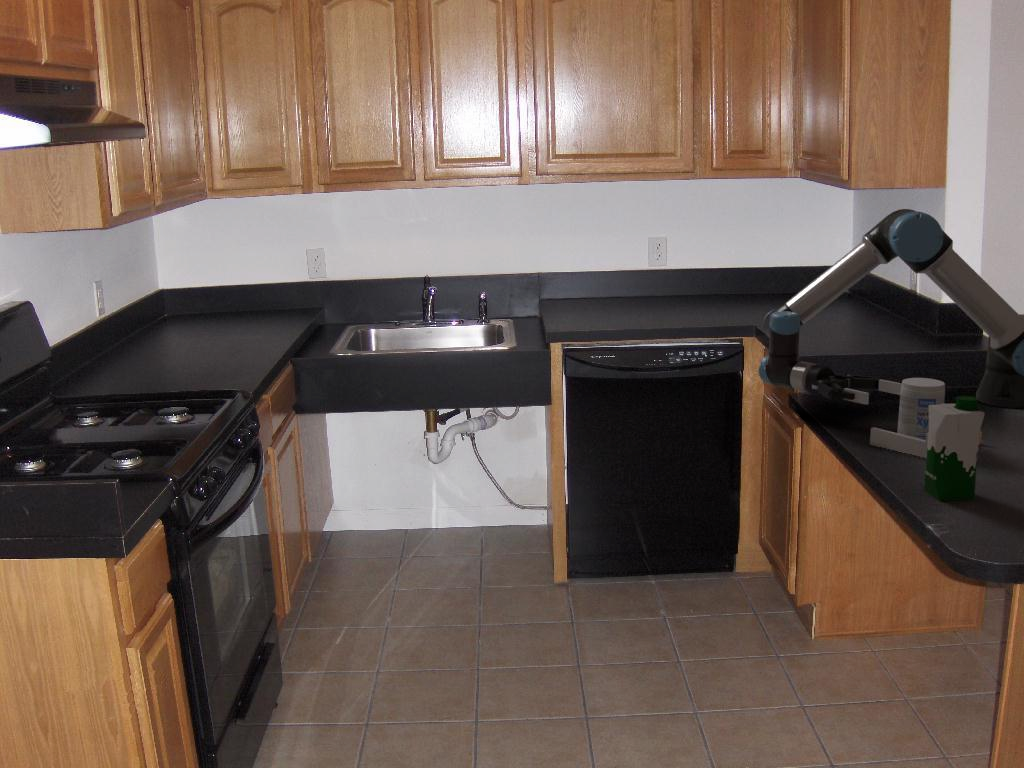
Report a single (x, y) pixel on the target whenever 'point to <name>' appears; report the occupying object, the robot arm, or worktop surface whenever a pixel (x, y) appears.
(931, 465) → the milk carton
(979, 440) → the clip
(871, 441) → the end holder
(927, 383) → the supplement tub
